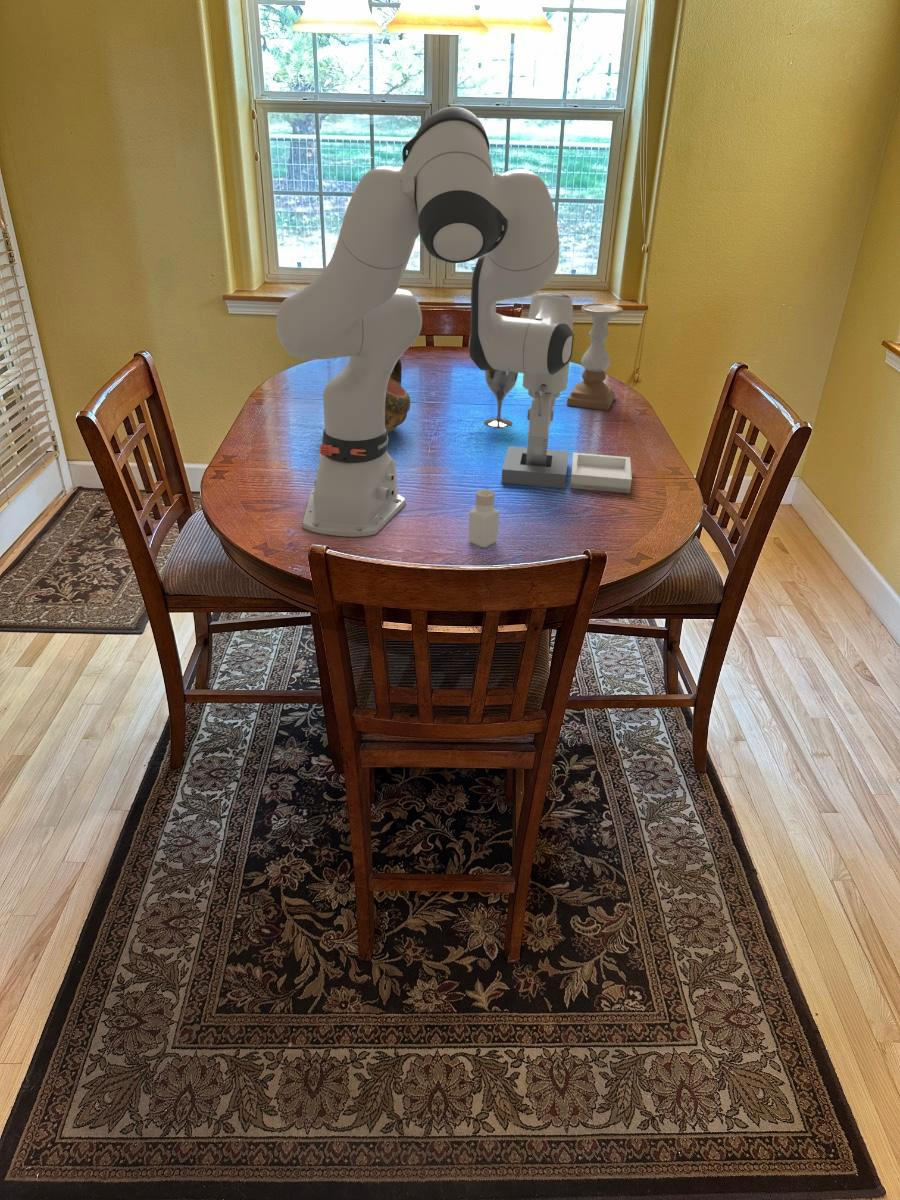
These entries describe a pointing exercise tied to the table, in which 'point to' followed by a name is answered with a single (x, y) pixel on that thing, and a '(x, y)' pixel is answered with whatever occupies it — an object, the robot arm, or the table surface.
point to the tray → (601, 472)
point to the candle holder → (595, 361)
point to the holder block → (535, 469)
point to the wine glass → (500, 393)
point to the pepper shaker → (483, 520)
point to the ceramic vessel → (396, 400)
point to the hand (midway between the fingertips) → (539, 444)
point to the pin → (531, 457)
